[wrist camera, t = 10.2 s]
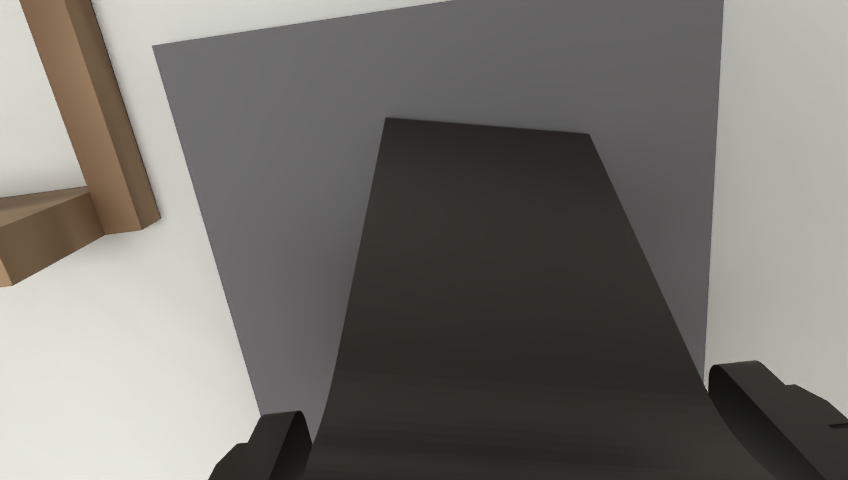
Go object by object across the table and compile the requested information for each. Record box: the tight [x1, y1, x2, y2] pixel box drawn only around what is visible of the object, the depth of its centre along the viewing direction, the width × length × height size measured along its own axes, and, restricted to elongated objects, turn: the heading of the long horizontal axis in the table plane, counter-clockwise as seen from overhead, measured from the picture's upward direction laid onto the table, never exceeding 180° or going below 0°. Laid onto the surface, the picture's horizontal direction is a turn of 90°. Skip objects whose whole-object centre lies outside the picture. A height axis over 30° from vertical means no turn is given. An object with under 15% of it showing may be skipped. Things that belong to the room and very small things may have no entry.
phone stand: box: [303, 117, 776, 480], centre depth 11 cm, size 9×6×12 cm, turn 175°
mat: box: [152, 0, 724, 444], centre depth 17 cm, size 16×16×1 cm
